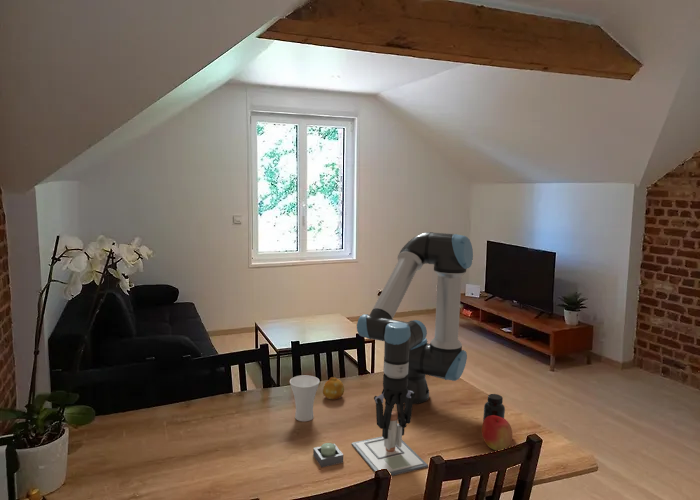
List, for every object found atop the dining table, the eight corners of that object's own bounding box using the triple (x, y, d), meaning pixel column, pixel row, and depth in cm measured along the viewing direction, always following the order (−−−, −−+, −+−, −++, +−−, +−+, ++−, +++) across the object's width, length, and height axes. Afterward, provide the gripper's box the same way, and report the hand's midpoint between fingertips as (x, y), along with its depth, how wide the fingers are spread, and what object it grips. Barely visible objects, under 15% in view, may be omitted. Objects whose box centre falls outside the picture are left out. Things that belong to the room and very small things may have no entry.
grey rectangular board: (351, 444, 166) (351, 441, 166) (395, 435, 173) (395, 432, 173) (380, 478, 148) (380, 475, 148) (427, 466, 155) (428, 463, 154)
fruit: (325, 384, 206) (325, 372, 201) (345, 388, 205) (346, 375, 200) (321, 402, 200) (320, 390, 195) (341, 406, 199) (342, 393, 194)
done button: (318, 453, 159) (318, 444, 158) (332, 450, 160) (332, 441, 160) (323, 461, 155) (324, 451, 154) (337, 458, 156) (337, 448, 156)
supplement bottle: (504, 435, 174) (506, 402, 172) (483, 433, 175) (485, 399, 173) (502, 426, 181) (504, 393, 179) (482, 423, 182) (484, 391, 180)
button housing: (313, 455, 159) (313, 447, 159) (334, 450, 162) (334, 443, 162) (321, 467, 153) (321, 459, 153) (343, 462, 156) (343, 454, 156)
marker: (383, 446, 164) (385, 411, 162) (394, 445, 164) (396, 410, 162) (386, 452, 160) (388, 416, 158) (397, 451, 161) (399, 416, 159)
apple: (478, 452, 163) (480, 422, 162) (482, 438, 172) (484, 409, 171) (510, 459, 160) (512, 428, 158) (512, 444, 169) (515, 415, 167)
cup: (324, 414, 186) (324, 378, 184) (309, 427, 177) (310, 389, 175) (299, 408, 191) (299, 373, 189) (283, 420, 181) (283, 383, 179)
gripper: (377, 382, 151) (374, 457, 154) (425, 375, 157) (421, 447, 161) (366, 373, 158) (363, 445, 161) (412, 366, 164) (409, 435, 168)
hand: (392, 446), depth 161 cm, fingers closed on marker, 3 cm apart
